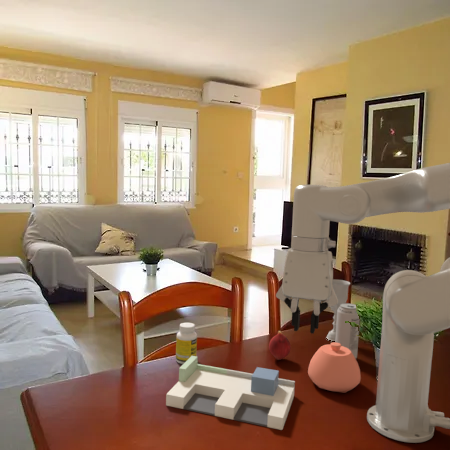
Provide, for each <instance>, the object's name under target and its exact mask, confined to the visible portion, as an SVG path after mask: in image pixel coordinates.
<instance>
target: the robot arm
mask: <svg viewBox="0 0 450 450" xmlns="http://www.w3.org/2000/svg"><path fill="white" fill-rule="evenodd" d="M292 201H293V204H292V205H293V207H292V225H291V226H292V227H291V242H290V248H288V249H287V252H286V255H285V261H284V266H283V267H284V268H283V275H282V284H281V286H280V287H279V288H278V291H277V292H276V293H275V297H276V298H277V299H278V300H280V301H281V302H284V304H285V305H286V306H287V307H288V308H289V309H290V311H291V326H293V331H294V332H298V331H299V328H300V323H301V322H300V321H301V309H300V307H299V303H300V299H301V300H309V301H313V310H312V313H311V315H310V327H309V328H310V331H309V333H311V335H313V334H314V333H315V330H316V329H317V330H318V329H319V321H320V314H322V312H324V311H326V310H327V308H330V307H331V306H334V305H336V304H338V299H337V297H336V294H335V292H334V290H333V279H334V269H333V268H334V265H333V264H334V263H333V253H332V251H329V249H331V248H336V245H337V244H336V240H332V239H331V238H330V237H329V235H330V225H331V224H330V222H336V223H341V224H345V225H346V224H347V225H351V224H352V225H353V224H357V223H359V222H360V223H361V221H363V220H364V219H365V218H370V217H376V216H381V215H387V214H395V213H423V214H424V213H433V212H439V211H445V210H450V162H447V163H442V164H436V165H431V166H426V167H421V168H417V169H413V170H410V171H407V172H404V173H401V174H398V175H394V176H390V177H384V178H381V179H376V180H375V179H374V180H371V181H364V182H359V183H352V184H348V185H343V186H341V185H340V186H327V185H323V184H322V185H320V184H299V185H297V186H296V187H295V188H294V191H293V200H292ZM381 321H382V323H381V336H380V338H381V339H380V349H379V361H378V371H377V372H378V373H377V374H378V376H377V387H376V398H375V399H376V400H375V405H372V406H371V407H369V408H368V410H367V413H366V420H367V422H368V424H369V426H371V428H372V429H374V430H375V431H376V432H378V434H380V435H382V436H384V437H387V438H389V439H392V440H395V441H398V442H404V443H413V444H414V443H415V444H417V443H424V442H427V441H430V440H431V439H432V438H433V436H434V435H435V428H436V427H439V428H442V429H447V430H450V418H449V417H445V413H444V412H441V411H434V410H431V408H429V405H428V403H429V393H430V382H431V373H432V372H431V371H432V360H433V353H434V352H433V351H434V350H433V349H434V339H435V338H434V337H435V333H437V332H441V331H444V330H447V329H450V257H448V258H447V259H446V260H445V261H444V262H443V263H442V265H441V266H440V270H439V272H436V273H433V274H431V275H425V274H423V273H422V272H420V271H417V270H411V269H406V270H400V271H398V272H395V273H394V274H393V275H391V276H390V278H389V279H388V280H387V281H386V283H385V285H384V290H383V294H382V319H381Z"/></svg>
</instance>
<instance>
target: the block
mask: <svg viewBox="0 0 450 450" xmlns="http://www.w3.org/2000/svg"><path fill="white" fill-rule="evenodd" d="M279 373H280V371H279V370H278V369H277V370H276V369H271V368H264V367H260V366H259V367H258V366H256V368H255V369H254V372H253V373H252V374H253V375H252V378H251V392H255V393H260V394H265V395H271V396H274V394H275V391H276V389H277V387H278V378H280V377H279Z"/></svg>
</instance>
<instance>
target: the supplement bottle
mask: <svg viewBox="0 0 450 450" xmlns="http://www.w3.org/2000/svg"><path fill="white" fill-rule="evenodd" d="M195 327H196V324H195V323H192V322H181V323H180V324H179V331H178V332H177V333H176V341H175V343H176V344H175V345H176V346H175V361H176V362H177V363H178V364H181V365H183V364H184V363H185V362H186V361H187V360H188V359H189V358H190V357H191V356H197V348H198V347H197V346H198V334H197V333H196V332H195V331H196V328H195Z"/></svg>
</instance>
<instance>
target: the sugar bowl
mask: <svg viewBox="0 0 450 450" xmlns="http://www.w3.org/2000/svg"><path fill="white" fill-rule="evenodd" d="M307 369H308V370H307V373H308V376H309V379H310V380H311V381H312V382H313V384H314V385H316V387H318V388H319V389H322V390H327V391H330V392H337V393H341V394H343V393H345V394H346V393H347V392H349V391H352V390H353V389H354V388H356V387H357V386H358V385H359V384H360V382H361V379H362V377H361V369H360V366H359V363H358V361H357V358H356V359H355V357H354V355H353V354H352V352H351V351H350V350H349V349H348V348H346V347H344V346H341V344H340V343H337V342H330V344H324V345H322V346H320V347H319V348H318V349H317V351H316V352H315V353H314V354H313V356H312V358H311V359H310V362H309V364H308V367H307Z"/></svg>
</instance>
